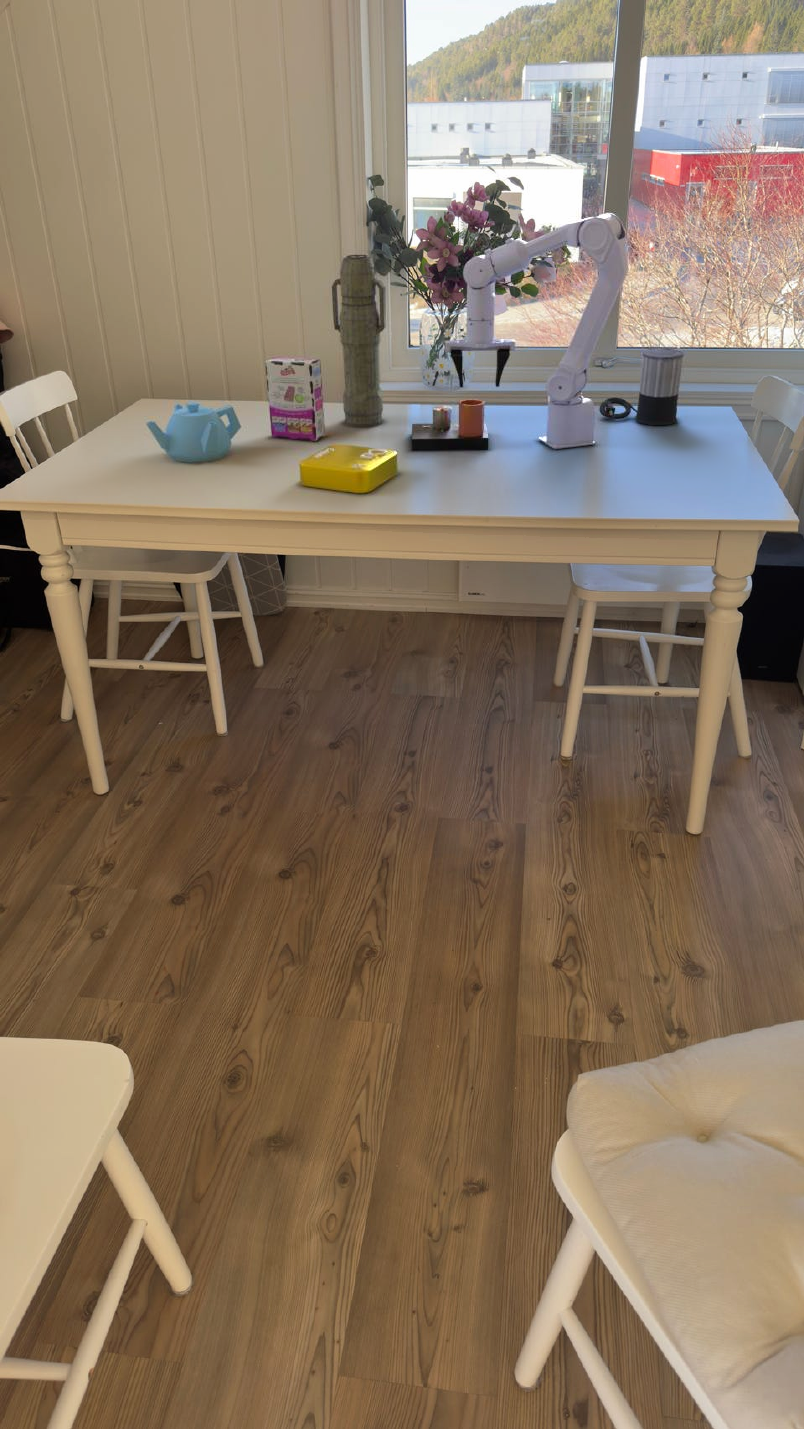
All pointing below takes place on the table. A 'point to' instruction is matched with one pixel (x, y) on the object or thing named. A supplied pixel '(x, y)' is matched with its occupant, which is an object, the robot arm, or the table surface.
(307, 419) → the candy bar box
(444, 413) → the dial
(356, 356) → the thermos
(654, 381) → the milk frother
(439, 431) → the warming plate
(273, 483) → the table surface
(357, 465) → the element tile
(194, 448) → the teapot
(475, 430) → the orange stave barrel
